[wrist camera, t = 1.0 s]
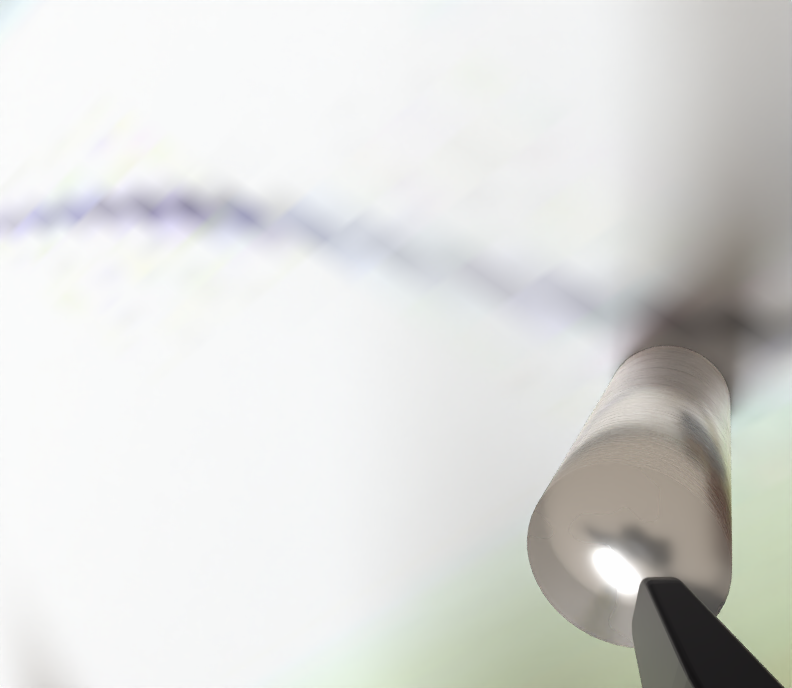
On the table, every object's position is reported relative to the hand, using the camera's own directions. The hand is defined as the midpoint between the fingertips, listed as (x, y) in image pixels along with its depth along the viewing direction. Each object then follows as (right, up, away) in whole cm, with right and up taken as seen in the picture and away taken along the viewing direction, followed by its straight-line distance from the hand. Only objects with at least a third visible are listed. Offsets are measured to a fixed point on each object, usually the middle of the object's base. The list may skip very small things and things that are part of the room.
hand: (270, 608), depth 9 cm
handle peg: (+9, +2, +10) cm, 14 cm away
